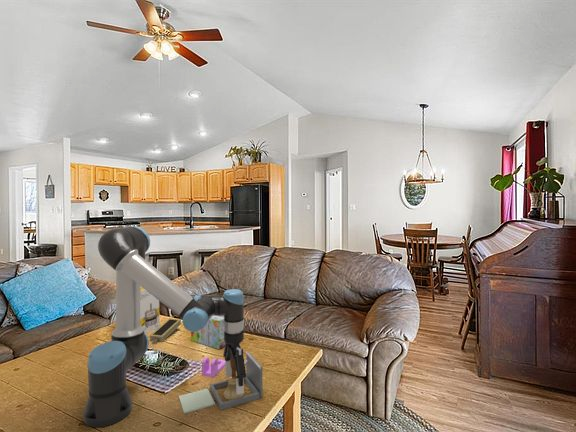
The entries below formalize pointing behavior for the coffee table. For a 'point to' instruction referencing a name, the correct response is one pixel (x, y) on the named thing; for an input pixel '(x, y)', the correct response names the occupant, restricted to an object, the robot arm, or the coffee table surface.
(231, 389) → the hand bell
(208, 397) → the pad
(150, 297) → the packaging box
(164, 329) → the box
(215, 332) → the snack box
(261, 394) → the hatch
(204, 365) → the bracket
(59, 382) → the coffee table surface
